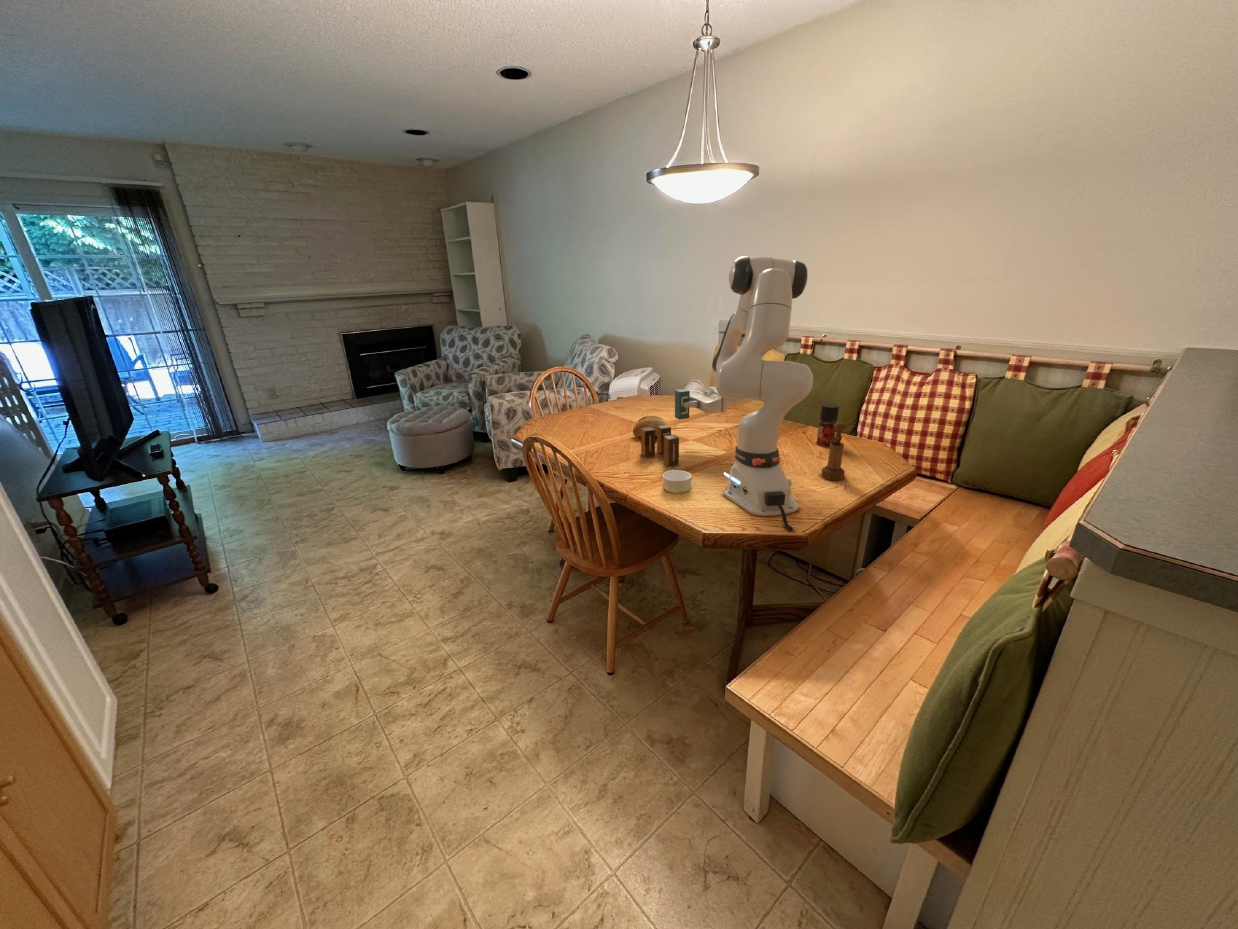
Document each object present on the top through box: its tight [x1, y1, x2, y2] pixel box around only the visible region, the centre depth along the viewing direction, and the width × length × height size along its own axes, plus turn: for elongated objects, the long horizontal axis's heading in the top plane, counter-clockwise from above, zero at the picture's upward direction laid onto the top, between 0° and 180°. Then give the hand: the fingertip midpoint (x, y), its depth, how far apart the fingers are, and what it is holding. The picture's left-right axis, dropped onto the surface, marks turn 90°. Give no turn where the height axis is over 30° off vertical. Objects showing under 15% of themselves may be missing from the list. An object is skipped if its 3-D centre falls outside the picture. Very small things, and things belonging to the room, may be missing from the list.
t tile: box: [656, 424, 672, 455], centre depth 175 cm, size 4×4×10 cm
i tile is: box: [663, 434, 680, 468], centre depth 164 cm, size 4×4×10 cm
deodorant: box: [816, 402, 840, 448], centre depth 177 cm, size 6×6×15 cm
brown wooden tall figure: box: [820, 421, 846, 481], centre depth 148 cm, size 7×6×18 cm
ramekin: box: [662, 469, 693, 494], centre depth 146 cm, size 9×9×4 cm
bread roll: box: [632, 415, 668, 438], centre depth 194 cm, size 10×15×8 cm, turn 97°
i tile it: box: [640, 427, 656, 458], centre depth 173 cm, size 4×4×10 cm
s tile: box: [674, 388, 690, 421], centre depth 170 cm, size 4×4×10 cm
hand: (680, 403), depth 170 cm, fingers closed on s tile, 4 cm apart
